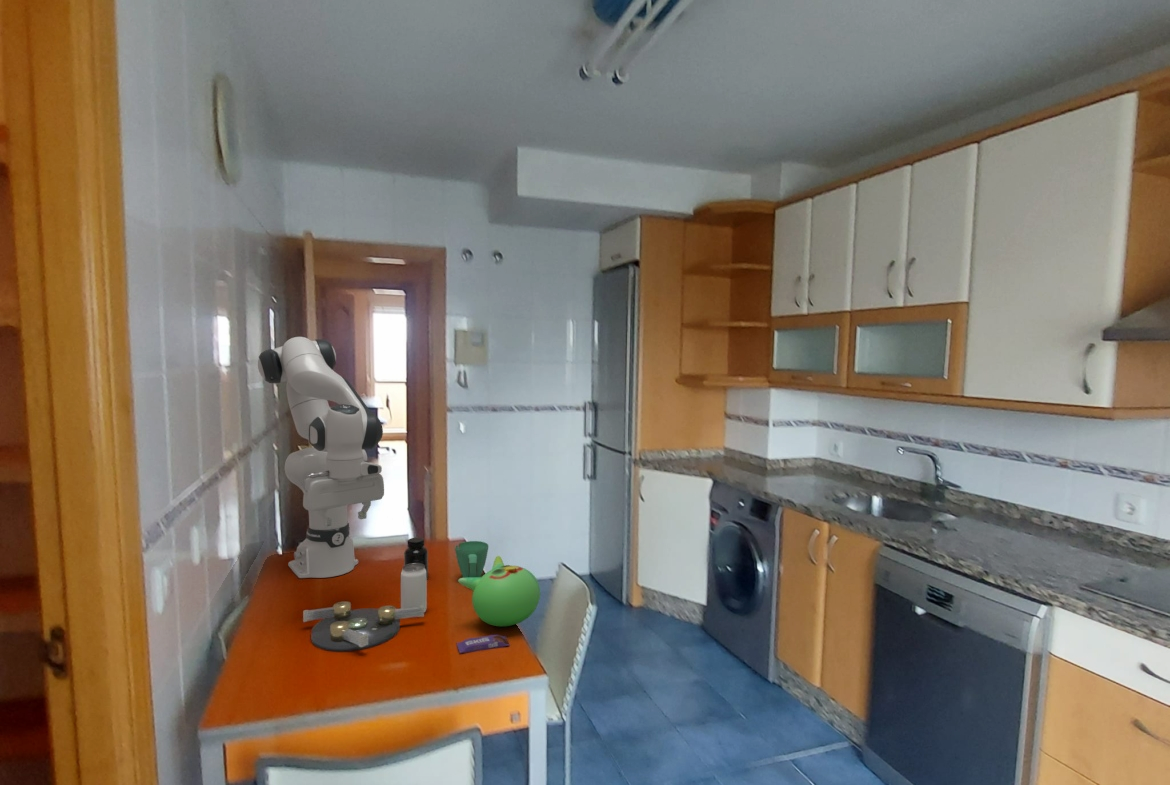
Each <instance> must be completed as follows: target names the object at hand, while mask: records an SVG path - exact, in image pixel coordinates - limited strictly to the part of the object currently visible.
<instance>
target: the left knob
mask: <svg viewBox="0 0 1170 785" xmlns="http://www.w3.org/2000/svg"><path fill="white" fill-rule="evenodd" d="M377 609H378V622H379V623H380V624H390V623H393V622H395V619H400V620H401V619H409V618H417V617H419V618H422V617H425V612H424V605H420V606H418V607H409V608H401V607H400V608H396V606H394V605H383V606H381V607H379V608H377Z"/></svg>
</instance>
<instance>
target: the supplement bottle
mask: <svg viewBox="0 0 1170 785" xmlns="http://www.w3.org/2000/svg"><path fill="white" fill-rule="evenodd" d="M403 554H404V556H403V557H404V559H403V560H404V564H403V566H405V565H407V564H412V563H420V564H424V565H425V567H424V568H425V570H426V578H427V579H428V576H429V552H428V549H427V548H426V547H425V538H423V537H411V538H409V539H407V548H406V549H405V550H404V553H403Z"/></svg>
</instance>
